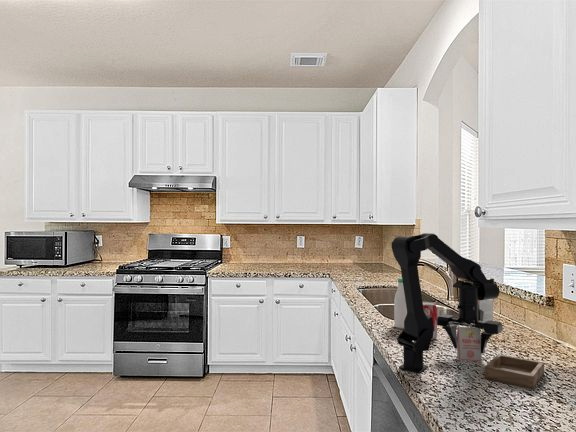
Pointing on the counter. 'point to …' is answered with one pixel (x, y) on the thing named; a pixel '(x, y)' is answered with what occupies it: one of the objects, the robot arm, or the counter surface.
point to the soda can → (431, 315)
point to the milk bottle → (400, 306)
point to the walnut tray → (514, 371)
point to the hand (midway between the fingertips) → (468, 350)
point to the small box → (486, 309)
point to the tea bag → (469, 344)
